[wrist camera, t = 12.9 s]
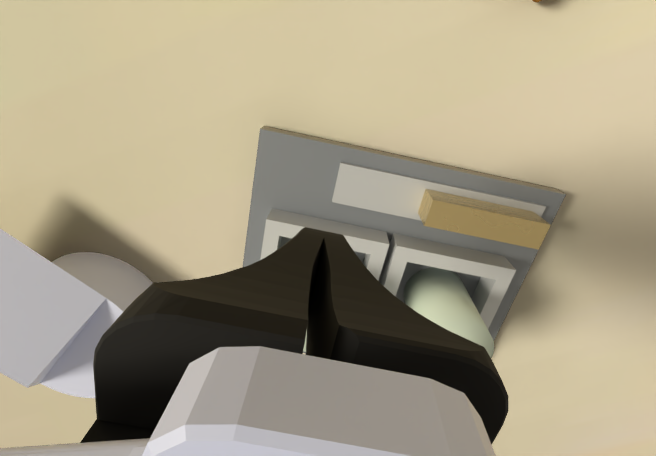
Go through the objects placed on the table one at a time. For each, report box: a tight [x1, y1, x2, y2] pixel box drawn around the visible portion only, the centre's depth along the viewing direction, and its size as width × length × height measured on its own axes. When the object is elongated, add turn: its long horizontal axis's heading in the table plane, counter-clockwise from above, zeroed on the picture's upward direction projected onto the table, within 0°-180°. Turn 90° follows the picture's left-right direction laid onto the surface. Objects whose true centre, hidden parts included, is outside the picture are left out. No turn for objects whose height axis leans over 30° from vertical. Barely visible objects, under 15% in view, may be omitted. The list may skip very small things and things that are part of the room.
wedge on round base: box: [0, 229, 153, 398], centre depth 22 cm, size 9×7×13 cm
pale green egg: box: [404, 267, 494, 358], centre depth 20 cm, size 4×4×5 cm
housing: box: [243, 126, 566, 353], centre depth 20 cm, size 14×16×6 cm
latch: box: [418, 189, 551, 250], centre depth 19 cm, size 1×6×2 cm, turn 78°
